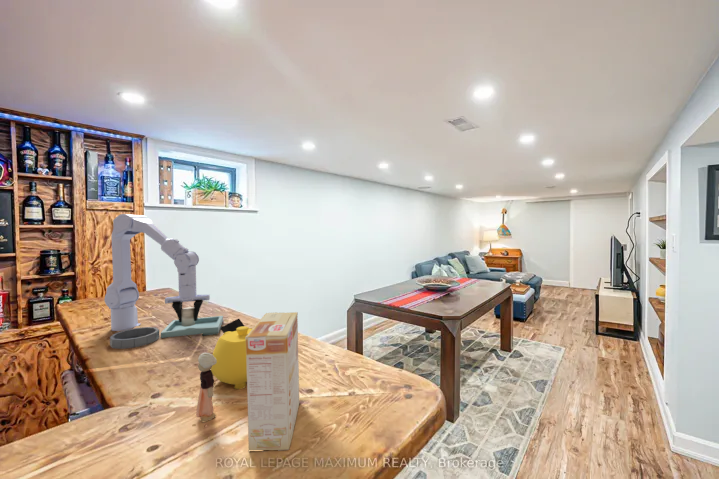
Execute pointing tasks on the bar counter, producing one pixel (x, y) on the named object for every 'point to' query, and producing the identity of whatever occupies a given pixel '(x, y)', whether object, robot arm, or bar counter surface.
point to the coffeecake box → (272, 381)
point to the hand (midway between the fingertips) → (188, 320)
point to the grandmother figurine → (206, 387)
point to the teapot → (231, 357)
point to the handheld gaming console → (232, 326)
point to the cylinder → (187, 316)
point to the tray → (194, 327)
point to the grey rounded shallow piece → (134, 337)
